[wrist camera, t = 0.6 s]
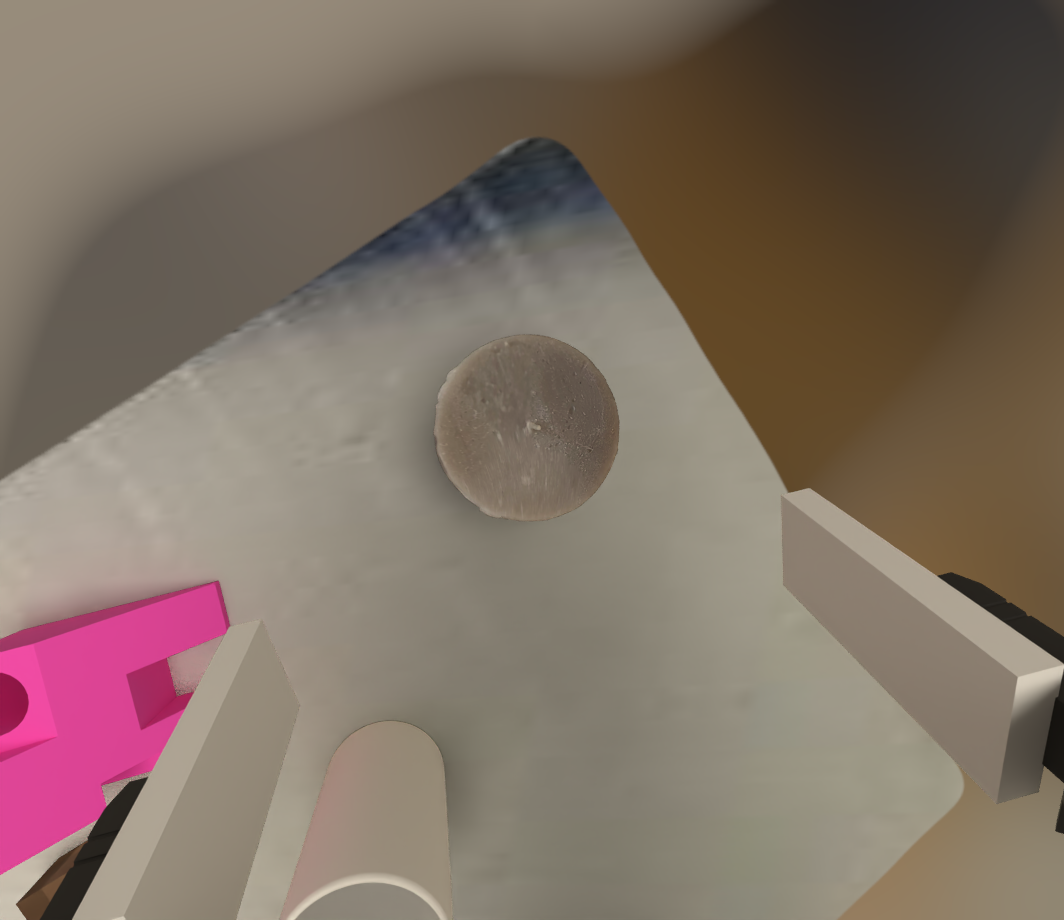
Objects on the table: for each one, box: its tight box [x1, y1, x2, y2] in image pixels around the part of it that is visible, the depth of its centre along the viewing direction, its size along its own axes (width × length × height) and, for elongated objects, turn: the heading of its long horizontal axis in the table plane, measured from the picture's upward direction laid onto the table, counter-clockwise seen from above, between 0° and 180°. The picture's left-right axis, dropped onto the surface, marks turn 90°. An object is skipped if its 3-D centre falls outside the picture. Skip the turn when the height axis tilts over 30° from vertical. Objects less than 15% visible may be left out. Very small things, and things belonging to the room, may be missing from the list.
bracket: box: [0, 581, 230, 875], centre depth 34 cm, size 12×10×10 cm
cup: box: [280, 721, 453, 920], centre depth 34 cm, size 8×8×16 cm
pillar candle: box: [433, 334, 619, 521], centre depth 36 cm, size 10×10×15 cm
